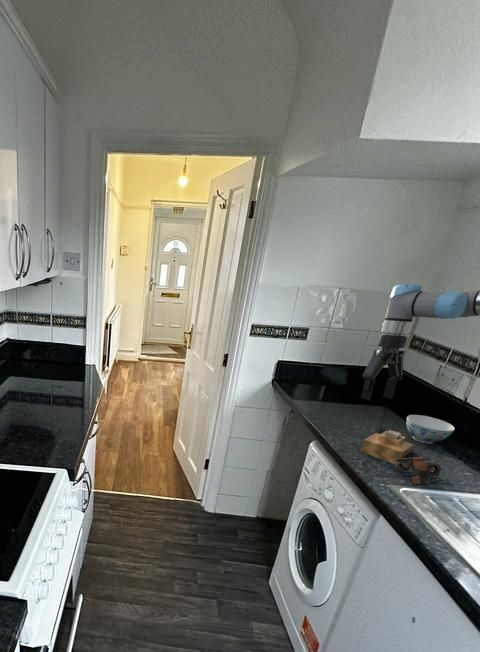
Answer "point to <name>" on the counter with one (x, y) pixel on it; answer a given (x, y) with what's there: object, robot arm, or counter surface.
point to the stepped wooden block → (386, 447)
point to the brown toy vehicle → (419, 468)
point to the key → (393, 434)
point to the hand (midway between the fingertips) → (376, 398)
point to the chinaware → (428, 428)
